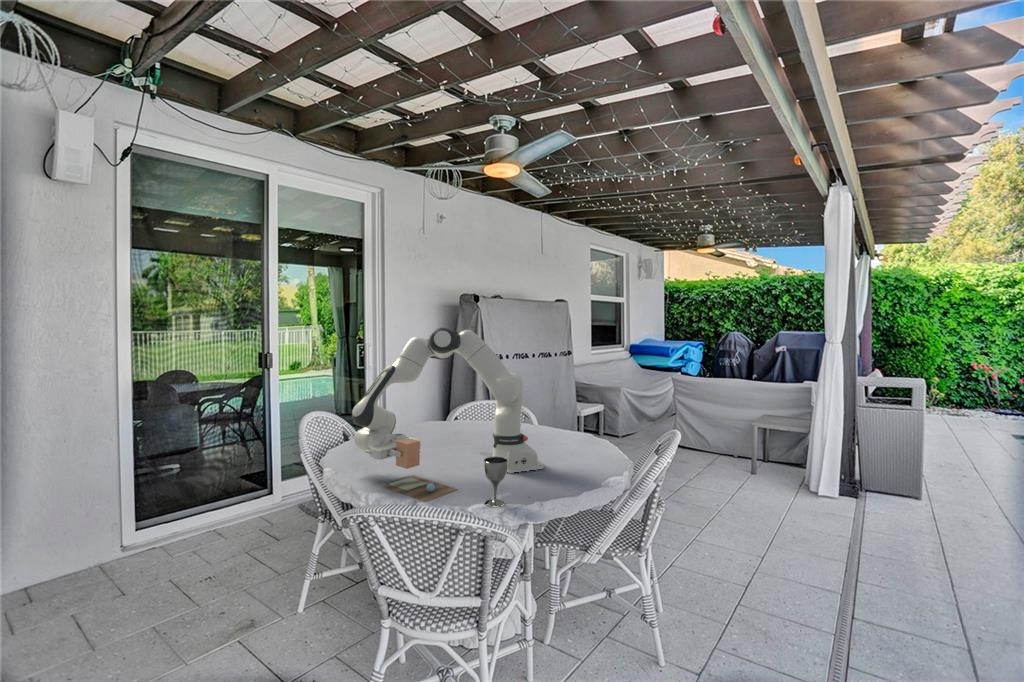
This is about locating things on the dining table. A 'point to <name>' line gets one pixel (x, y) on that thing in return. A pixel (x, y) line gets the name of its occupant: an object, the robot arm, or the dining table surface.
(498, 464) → the wine glass
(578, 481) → the dining table surface
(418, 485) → the board
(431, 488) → the ball
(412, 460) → the tall salmon pillar
